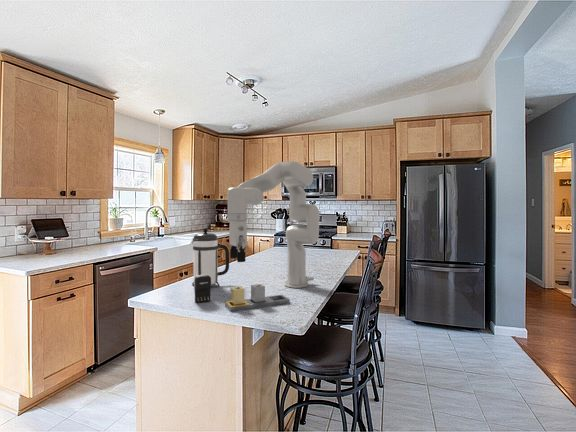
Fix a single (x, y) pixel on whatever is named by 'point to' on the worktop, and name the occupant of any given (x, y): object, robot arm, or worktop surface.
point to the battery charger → (202, 288)
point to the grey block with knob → (257, 293)
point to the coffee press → (208, 256)
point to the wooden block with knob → (237, 295)
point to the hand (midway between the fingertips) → (237, 259)
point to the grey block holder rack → (249, 305)
